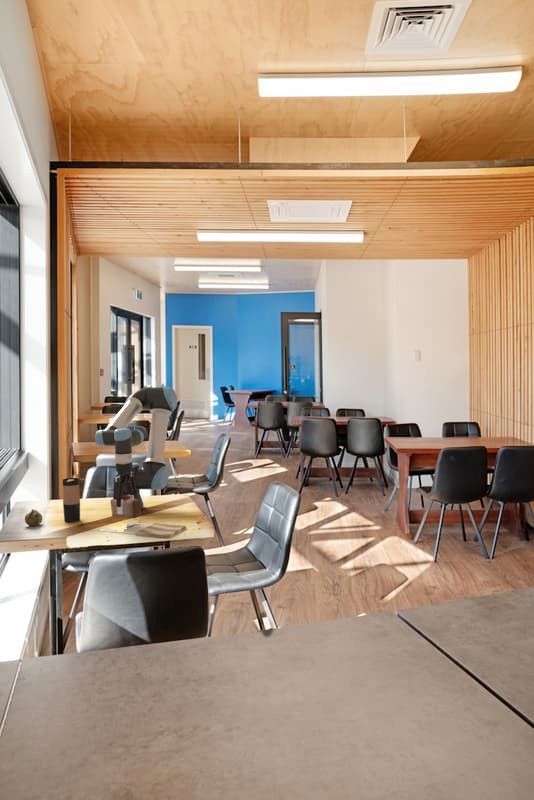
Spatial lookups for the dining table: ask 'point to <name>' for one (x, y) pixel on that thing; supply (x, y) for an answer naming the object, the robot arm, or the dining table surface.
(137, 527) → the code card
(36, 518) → the onion
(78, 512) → the travel mug
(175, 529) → the beige cloth
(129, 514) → the food item
